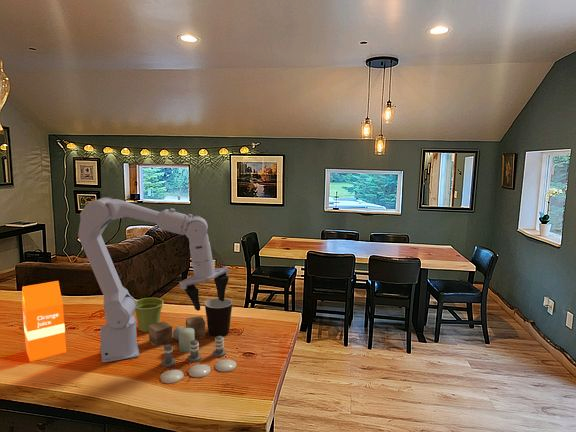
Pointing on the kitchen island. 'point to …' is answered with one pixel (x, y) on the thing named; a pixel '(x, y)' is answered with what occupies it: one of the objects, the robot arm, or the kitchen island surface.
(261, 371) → the kitchen island surface
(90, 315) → the kitchen island surface
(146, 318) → the plant pot
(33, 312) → the orange juice
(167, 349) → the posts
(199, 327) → the walnut block
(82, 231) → the robot arm
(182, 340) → the pale green rounded cylinder
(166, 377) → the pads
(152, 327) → the walnut block
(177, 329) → the grey ball
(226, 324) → the coffee mug
